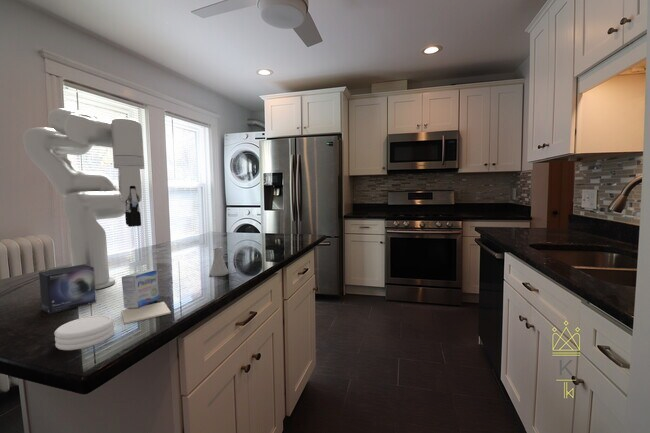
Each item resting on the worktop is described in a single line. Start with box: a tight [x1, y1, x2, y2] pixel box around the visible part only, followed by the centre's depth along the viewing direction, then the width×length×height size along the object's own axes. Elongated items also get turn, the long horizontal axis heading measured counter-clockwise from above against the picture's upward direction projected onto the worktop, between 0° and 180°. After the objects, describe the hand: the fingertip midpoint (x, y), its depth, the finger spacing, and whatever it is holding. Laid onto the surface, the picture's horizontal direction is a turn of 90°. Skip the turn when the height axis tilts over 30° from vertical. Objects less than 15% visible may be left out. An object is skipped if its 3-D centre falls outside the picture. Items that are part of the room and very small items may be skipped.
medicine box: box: [121, 269, 160, 309], centre depth 85 cm, size 8×4×9 cm, turn 168°
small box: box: [38, 264, 97, 315], centre depth 85 cm, size 11×6×10 cm, turn 148°
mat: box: [120, 301, 172, 325], centre depth 80 cm, size 10×10×1 cm
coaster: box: [53, 314, 116, 351], centre depth 66 cm, size 10×10×4 cm
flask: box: [208, 247, 230, 277], centre depth 116 cm, size 7×7×10 cm
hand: (133, 224), depth 91 cm, fingers open, 5 cm apart
